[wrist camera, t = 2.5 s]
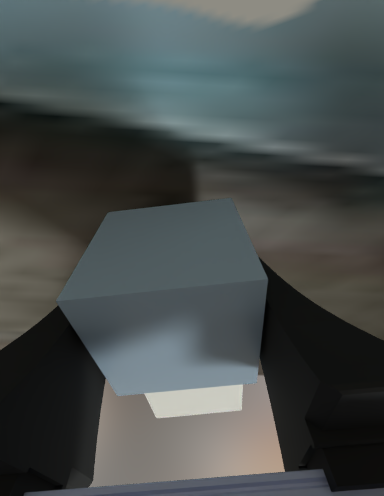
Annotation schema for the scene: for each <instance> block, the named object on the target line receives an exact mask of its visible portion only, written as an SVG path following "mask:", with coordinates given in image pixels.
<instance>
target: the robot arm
mask: <svg viewBox="0 0 384 496" xmlns="http://www.w3.org/2000/svg"><path fill="white" fill-rule="evenodd" d="M258 258H259V257H258ZM259 260H260V262H261V264H262V267H263V269H264V271H265V273H266V276H267V278H268V284H267V293H266V302H265V311H264V320H263V330H262V339H261V348H260V361H261V365H262V369H263V373H264V377H265V381H266V385H267V390H268V394H269V398H270V403H271V407H272V411H273V416H274V421H275V425H276V430H277V435H278V440H279V444H280V449H281V454H282V459H283V464H284V469H285V472H278V473H265V474H253V475H241V476H229V477H228V476H227V477H215V478H202V479H190V480H177V481H166V482H152V483H140V484H127V485H114V486H102V487H89V486H90V484H91V483H92V481H93V475H94V464H95V453H96V443H97V434H98V426H99V419H100V410H101V404H102V397H103V391H104V385H105V379H106V377H105V376H104V374H103V373H102V371H101V370H100V368H99V367H98V365H97V364H96V362H95V360H94V359H93V357H92V356H91V354H90V353H89V351H88V350H87V348H86V347H85V345H84V344H83V342H82V341H81V339H80V337H79V336H78V334H77V333H76V331H75V330H74V328H73V327H72V325H71V324H70V322H69V321H68V319H67V317H66V316H65V314H64V313H63V311H62V310H61V308H60V307H59V305H58V306H57V307H56V308H55V309H54V310H53V311H52V312H50V313H49V314H48V315H47V316H46V317H44V318H43V319H42V320H41V321H40V322H38V323H37V324H36V325H35V326H33V327H32V328H31V329H29V330H28V331H27V332H26V333H24V334H23V335H21V336H20V337H19V338H17V339H16V340H14V341H13V342H11V343H10V344H9V345H7V346H6V347H4V348H3V349H2V350H0V496H384V341H383V340H381V339H379V338H377V337H375V336H373V335H371V334H369V333H367V332H365V331H363V330H361V329H359V328H357V327H355V326H353V325H351V324H349V323H347V322H345V321H344V320H342V319H340V318H338V317H337V316H335V315H333V314H332V313H330V312H328V311H326V310H325V309H323V308H321V307H320V306H318V305H317V304H315V303H314V302H312V301H311V300H309V299H308V298H306V297H305V296H303V295H302V294H301V293H299V292H298V291H297V290H295V289H294V288H293V287H292V286H290V285H289V284H288V283H287V282H285V281H284V280H283V279H282V278H281V277H280V276H278V275H277V274H276V273H275V272H274V271H273V270H272V269H271V268H270V267H269V266H268V265H266V264H265V263H264V262H263V261H262V260H261V259H260V258H259ZM88 487H89V488H88Z"/></svg>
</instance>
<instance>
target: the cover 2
mask: <svg viewBox="0 0 384 496" xmlns="http://www.w3.org/2000/svg"><path fill="white" fill-rule="evenodd" d="M242 390H243V384H241V385H230V386H220V387H209V388H198V389H187V390H176V391H165V392H155V393H144V394H145V396H146V398H147V400H148V402H149V404H150V406H151V408H152V410H153V412H154V414H155V416H156V418H166V417H176V416H186V415H196V414H208V413H218V412H228V411H239V410H242Z"/></svg>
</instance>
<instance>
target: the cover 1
mask: <svg viewBox="0 0 384 496" xmlns="http://www.w3.org/2000/svg"><path fill="white" fill-rule="evenodd" d="M267 284H268V278H267V276H266V273H265V271H264V269H263V267H262V264H261V262H260V260H259V258H258V256H257V253H256V251H255V249H254V247H253V245H252V242H251V240H250V238H249V236H248V234H247V231H246V229H245V227H244V225H243V222H242V220H241V218H240V216H239V214H238V211H237V209H236V207H235V205H234V203H233V200H232V198H226V199H217V200H209V201H200V202H192V203H183V204H174V205H166V206H157V207H149V208H140V209H131V210H123V211H114V212H108V213H107V215H106V216H105V218H104V220H103V222H102V223H101V225H100V227H99V228H98V230H97V232H96V234H95V235H94V237H93V239H92V240H91V242H90V244H89V246H88V247H87V249H86V251H85V252H84V254H83V256H82V258H81V259H80V261H79V263H78V264H77V266H76V268H75V270H74V271H73V273H72V275H71V276H70V278H69V280H68V282H67V283H66V285H65V287H64V288H63V290H62V292H61V294H60V295H59V297H58V299H57V300H56V302H57V304H58V305H59V307H60V308H61V310H62V311H63V313H64V314H65V316H66V317H67V319H68V321H69V322H70V324H71V325H72V327H73V328H74V330H75V331H76V333H77V334H78V336H79V337H80V339H81V341H82V342H83V344H84V345H85V347H86V348H87V350H88V351H89V353H90V354H91V356H92V357H93V359H94V360H95V362H96V364H97V365H98V367H99V368H100V370H101V371H102V373H103V374H104V376H105V377H106V379H107V380H108V382H109V384H110V385H111V387H112V388H113V390H114V391H115V393H116V394H117V396H122V395H132V394H144V393H155V392H165V391H176V390H187V389H198V388H209V387H220V386H230V385H241V384H252V383H257V375H258V366H259V357H260V348H261V339H262V330H263V320H264V311H265V302H266V293H267Z"/></svg>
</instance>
